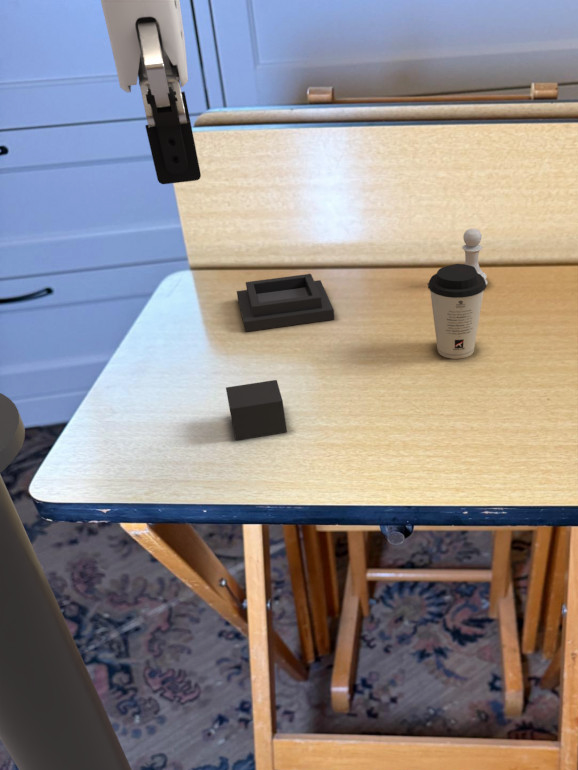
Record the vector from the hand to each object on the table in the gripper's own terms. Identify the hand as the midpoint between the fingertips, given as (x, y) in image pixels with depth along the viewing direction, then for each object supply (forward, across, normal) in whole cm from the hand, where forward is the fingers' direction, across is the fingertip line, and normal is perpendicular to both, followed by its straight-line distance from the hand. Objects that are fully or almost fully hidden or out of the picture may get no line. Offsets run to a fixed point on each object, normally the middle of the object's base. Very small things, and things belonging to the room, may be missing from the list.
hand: (177, 162), depth 64 cm
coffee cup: (+30, -17, +29) cm, 45 cm away
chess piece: (+30, -35, +36) cm, 59 cm away
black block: (+30, -6, +3) cm, 30 cm away
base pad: (+29, -34, +9) cm, 46 cm away
